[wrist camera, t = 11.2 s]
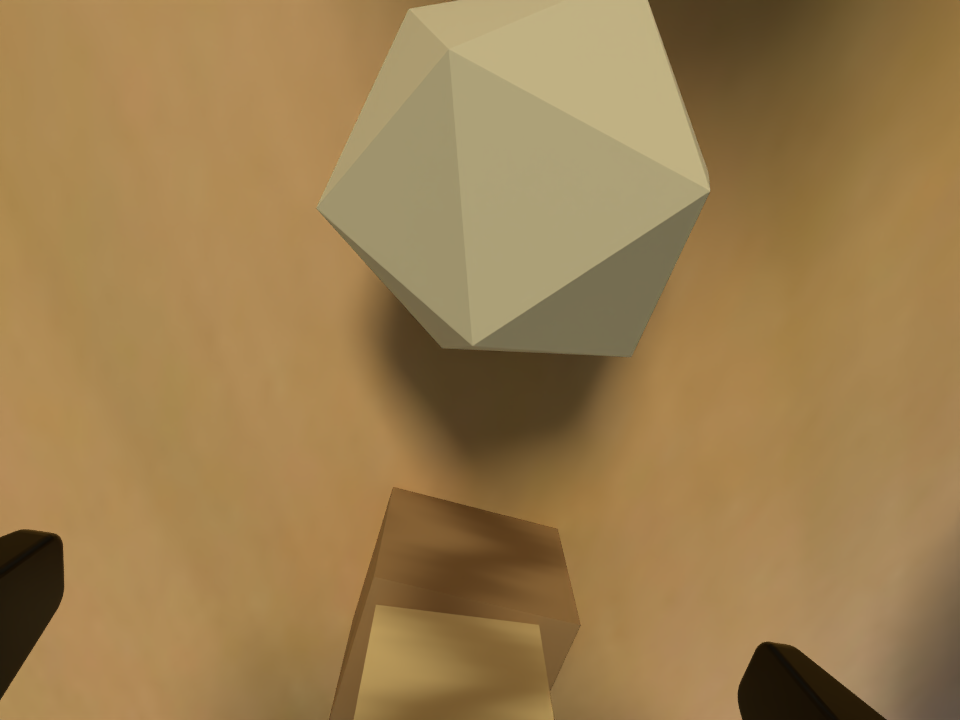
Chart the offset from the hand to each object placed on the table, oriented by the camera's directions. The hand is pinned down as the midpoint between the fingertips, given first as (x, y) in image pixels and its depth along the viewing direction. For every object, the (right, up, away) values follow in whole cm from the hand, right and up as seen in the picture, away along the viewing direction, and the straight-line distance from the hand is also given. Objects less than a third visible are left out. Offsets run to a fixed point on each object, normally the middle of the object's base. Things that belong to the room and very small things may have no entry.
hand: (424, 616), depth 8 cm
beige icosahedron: (+2, +9, +11) cm, 14 cm away
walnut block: (0, -5, +16) cm, 17 cm away
